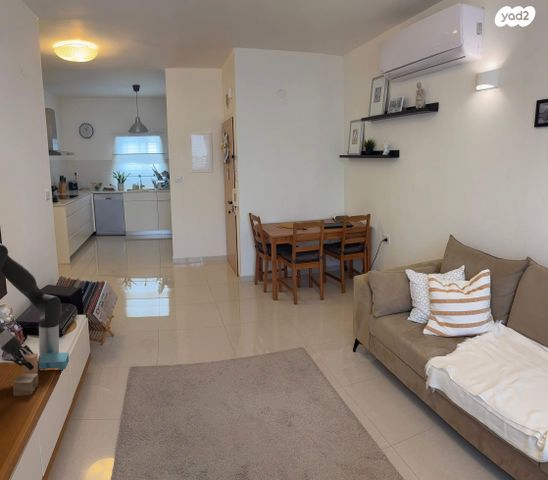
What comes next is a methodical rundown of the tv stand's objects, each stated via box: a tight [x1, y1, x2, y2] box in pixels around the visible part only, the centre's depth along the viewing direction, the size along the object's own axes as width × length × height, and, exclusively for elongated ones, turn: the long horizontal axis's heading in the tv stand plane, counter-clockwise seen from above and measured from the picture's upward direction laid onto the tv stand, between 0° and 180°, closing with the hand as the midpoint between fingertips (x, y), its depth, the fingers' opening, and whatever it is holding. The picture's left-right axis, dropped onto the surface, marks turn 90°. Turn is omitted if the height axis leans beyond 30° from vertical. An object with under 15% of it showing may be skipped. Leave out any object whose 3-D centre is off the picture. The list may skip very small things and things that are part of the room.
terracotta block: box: [22, 353, 39, 374], centre depth 208 cm, size 5×5×10 cm
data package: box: [38, 352, 70, 371], centre depth 222 cm, size 12×4×12 cm
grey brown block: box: [12, 373, 39, 396], centre depth 196 cm, size 9×7×6 cm
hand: (34, 366), depth 208 cm, fingers closed on terracotta block, 4 cm apart
